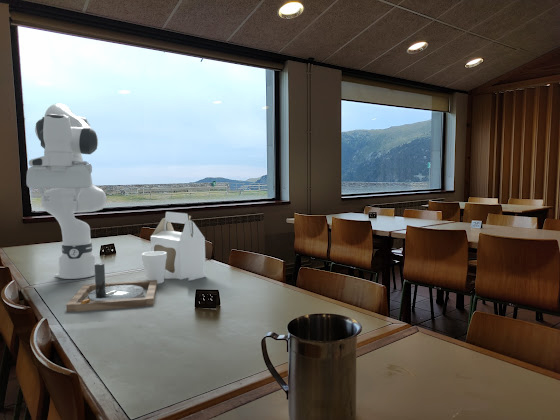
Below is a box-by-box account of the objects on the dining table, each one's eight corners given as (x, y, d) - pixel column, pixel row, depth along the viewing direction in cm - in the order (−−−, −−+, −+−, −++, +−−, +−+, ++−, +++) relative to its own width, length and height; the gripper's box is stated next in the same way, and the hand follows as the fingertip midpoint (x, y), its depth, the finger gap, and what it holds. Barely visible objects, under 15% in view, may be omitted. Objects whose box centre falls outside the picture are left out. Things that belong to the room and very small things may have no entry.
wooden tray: (84, 293, 154) (84, 282, 153) (157, 288, 160) (156, 277, 159) (66, 316, 128) (65, 302, 128) (153, 309, 135) (153, 296, 134)
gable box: (206, 277, 179) (205, 212, 176) (180, 283, 169) (179, 215, 167) (176, 269, 193) (174, 210, 191) (151, 274, 183) (149, 212, 181)
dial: (116, 288, 156) (114, 254, 155) (154, 293, 149) (153, 257, 148) (76, 301, 139) (74, 263, 138) (117, 307, 132) (115, 267, 131)
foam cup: (160, 288, 160) (159, 255, 159) (138, 287, 162) (137, 255, 161) (171, 282, 169) (170, 251, 168) (150, 281, 171) (149, 250, 170)
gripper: (93, 161, 148) (94, 200, 149) (29, 161, 143) (32, 201, 144) (89, 160, 142) (91, 200, 143) (23, 160, 137) (25, 202, 138)
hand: (61, 201), depth 144 cm, fingers open, 8 cm apart
